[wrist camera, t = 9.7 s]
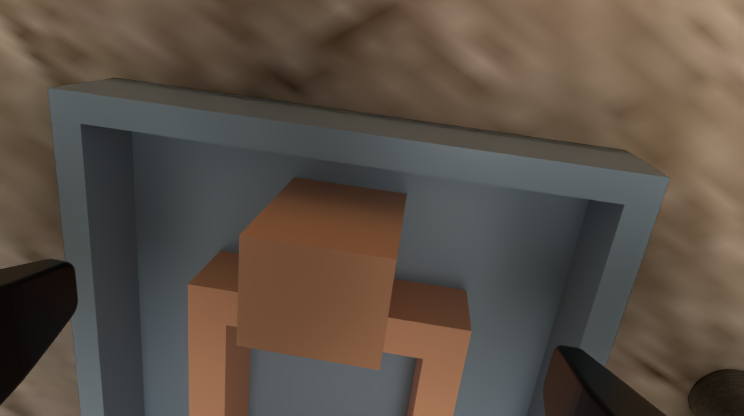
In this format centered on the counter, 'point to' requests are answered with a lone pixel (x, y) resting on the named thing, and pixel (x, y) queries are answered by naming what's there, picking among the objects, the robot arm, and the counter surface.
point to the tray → (349, 167)
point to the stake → (719, 394)
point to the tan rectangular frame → (322, 300)
